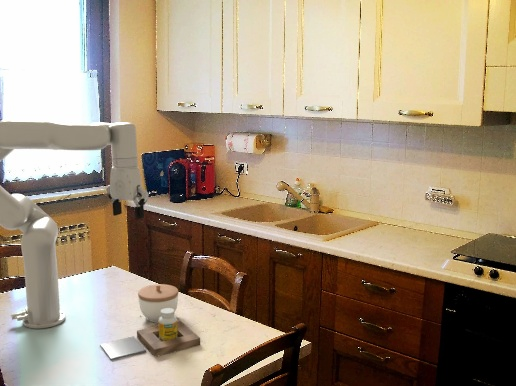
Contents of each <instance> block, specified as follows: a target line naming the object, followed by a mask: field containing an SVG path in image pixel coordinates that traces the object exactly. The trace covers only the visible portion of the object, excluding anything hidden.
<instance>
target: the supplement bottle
mask: <svg viewBox="0 0 516 386" xmlns="http://www.w3.org/2000/svg"><path fill="white" fill-rule="evenodd" d="M175 313H176V312H174V309H172V308H165V309H162V310H161V314H160V315H161V317H160V318H159V322H158V326H159V338H158V339H159V340H160V341H161V342H162V341H166V340H170V339H174V338H178V337H177V321H178V318H177V316H176V315H175Z"/></svg>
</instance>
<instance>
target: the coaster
mask: <svg viewBox="0 0 516 386" xmlns="http://www.w3.org/2000/svg"><path fill="white" fill-rule="evenodd" d="M99 345H100V346H99V347H100V348H101V349H102V351H103V352H104V354H105V355H106V356H107V357H108V359H109V360H110V361H111V362H113V361H116V360H119V359H123V358H124V359H125V358H127V357H131V356H135V355H139V354H143V353H146V352H147V348H146V347H145V346H144V345H143V344H142V343H140V342H139V339H138V338H137V337H135V336H130V337H125V338H120V339H117V340H112V341H107V342H104V343H100V344H99Z"/></svg>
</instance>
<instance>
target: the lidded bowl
mask: <svg viewBox="0 0 516 386" xmlns="http://www.w3.org/2000/svg"><path fill="white" fill-rule="evenodd" d="M137 295H138V304H139V309H140V311H141V314H142V315H143V316H144V317H145V318H146V319H147V320H148V321H149V322H152V323H159V318H160V317H161V315H160V314H161V310H162V309H165V308H172V309H174V313H176V310H177V308H178V302H179V289H178V288H177V287H176V286H173V285H171V284H165V283H163V284H162V283H161V284H160V283H159V284H151V285H147V286H144V287H142V288H140V289H139V290H138V292H137Z"/></svg>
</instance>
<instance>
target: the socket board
mask: <svg viewBox="0 0 516 386" xmlns="http://www.w3.org/2000/svg"><path fill="white" fill-rule="evenodd" d="M136 339H137V340H138V341H140V342H141V344H142V346H143V347H144V348H145V349H146V350H148V351H149V352H150V353H151V355H152V356H153V355H154V356H156V357H159V356H158V355H160V356H162V354H164V355H167V354H166V353H168V354H171V353H170V352H172V353H175V351H176V352H180V351H184V350H188V349H191V348H194V347H199V346H201V337H200V336H199V335H198V334H196V333H195V332H194V331H193V330H192V329H190V328H189V326H187V325H186V324H185V323H184V322H183V321H181V320H177V338H174V339H170V340H166V341H162V342H161V341H160V340H159V325H155V326H151V327H146V328H142V329H137V330H136ZM154 356H153V357H154Z"/></svg>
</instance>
